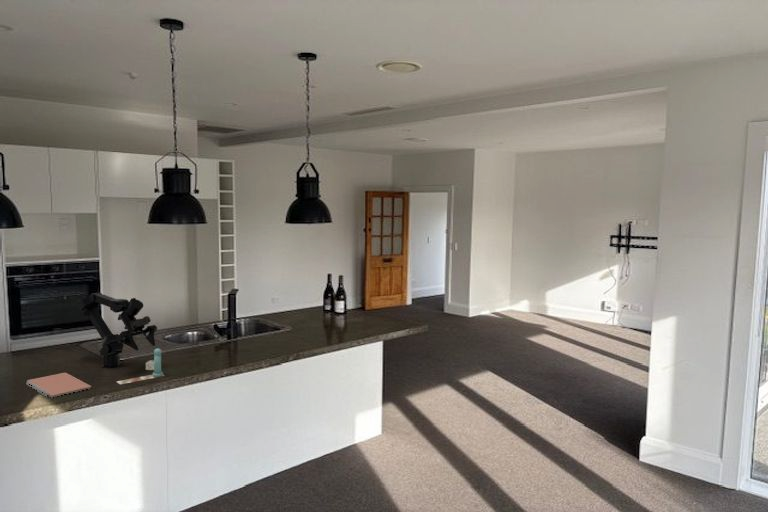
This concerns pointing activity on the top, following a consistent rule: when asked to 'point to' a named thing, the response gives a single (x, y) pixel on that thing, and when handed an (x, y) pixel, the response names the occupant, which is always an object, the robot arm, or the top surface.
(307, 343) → the top surface
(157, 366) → the pawn
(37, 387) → the notebook
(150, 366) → the die
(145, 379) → the board
